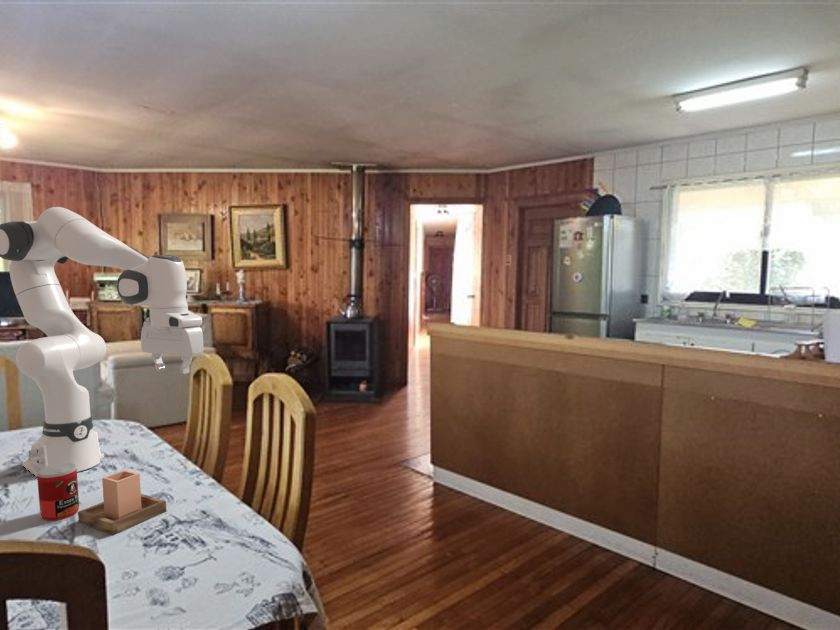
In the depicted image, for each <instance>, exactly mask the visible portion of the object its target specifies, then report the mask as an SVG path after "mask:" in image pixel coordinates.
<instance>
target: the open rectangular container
mask: <svg viewBox="0 0 840 630" xmlns="http://www.w3.org/2000/svg"><path fill="white" fill-rule="evenodd" d="M140 476H141V475H140V473H138V472H134V471H131V470H127V469H124V470H121V471H119V472H115V473H112V474H109V475H107V476H103V477H102V478H101V479H102V481H101V482H102V494H103V495H102V497H103V502H104V514H105V516H107V517H110V518H113V519H116V520H118V519H121V518H123V517H125V516H128V515H130V514H132V513H135V512H137V511H139V510H142V507H141V494H142V493H141V491H142V490H141V477H140Z"/></svg>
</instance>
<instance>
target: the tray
mask: <svg viewBox="0 0 840 630" xmlns="http://www.w3.org/2000/svg"><path fill="white" fill-rule="evenodd" d="M141 507H142V510H139V511H137V512H135V513H132V514H130V515H128V516H125V517H123V518H121V519H118V520H116V519H113V518H110V517H107V516H105V514H104V501H103V502H99V503H97V504H94V505H92V506H90V507H87V508H84V509H82V510H78V512H77V515H78V523H79V524H82V525H85V526H87V527H90V528H93V529H95V530H99V531H101V532H104V533H107V534H109V535H112V536H115V535H117V534H119V533H121V532H124V531H126V530H128V529H130V528H132V527H134V526H137V525H139V524H141V523H144V522H146V521H148V520H151V519H152V518H155V517H157V516H159V515H161V514H164V513H165V512H167V500H163V499H160V498H157V497H154V496H152V495H151V496H150V495H147V494H145V493H141Z"/></svg>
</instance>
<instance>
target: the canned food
mask: <svg viewBox="0 0 840 630" xmlns="http://www.w3.org/2000/svg"><path fill="white" fill-rule="evenodd" d="M36 479H37V491H38V502H39V503H38V504H39V514H40V517H41V519H42V520H44V521H49V522H50V521H52V522H53V521H60V520H64V519H67V518H70V517H72V516H74V515H76V514H78V512H79V508H80V501H79V499H80V498H79V484H78V483H79V482H78V472H77V468H76V465H75V464H71V463H62V464H55V465H51V466H47V467H44V468H42V469H40V470H39V471H38V472H37V477H36Z"/></svg>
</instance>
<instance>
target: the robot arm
mask: <svg viewBox="0 0 840 630" xmlns="http://www.w3.org/2000/svg"><path fill="white" fill-rule="evenodd" d="M0 258H1V259H4V260H7V261H11V262H9V265H8V270H9V277H10V282H11V286H12V288H13V292H14V294H15V296H16V300H17V303H18V305H19V307H20V310H21V311H22V314H23V318H24V319H25V321H26V322H27V324H29V325H30V326H32V327H35V328H37V329H39V330H40V331H41V332H43V334H45V335H46V336H45V337H39V338H36V339H34V340H33V339H32V340H30V341H28V342H25V343H23V344H21V345H20V346H19V348H18V349H17V351H16V353H15V363H16V366H17V369H18V370H19V371H20V373H22V374H23V375H25V376H26V377H29V378H30V379H32V381H33V382H34V383H35V384H36V386H37V387H38V388H39V390H40V394H41V395H42V400H43V407H44V408H43V409H44V417H45V421H43V422H41V424H42V425H41V426H42V432H41V433H42V435H41V436H39V438H38V439H37V440H36V441H34V443H33V444H32V445H31V448H30V450H28V457H29V458H30V459H27V460H25V461H23V462H22V463H21V466H22V467H23V466H24V467H25V468H26V469H25V468H24V467H23V468H24V469H25V470H27V471H28V470H29V471H30V472H31V473H30V472H29V471H28V472H29V473H30V474H31V475H33V474H34V475H35V477H36V478H37V472H38V471H39V470H40V469H42V468H44V467H47V466H51V465H55V464H62V463H71V464H75V465H76V468H77V473H78V472H81V471H82V472H83V471H85V470H89V469H91V468H93V467H95V466H97V465H98V464H99V463H100V462H101V460H102V459H103V458H104V457H105V453H104V452H101V449H100V443H99V436H98V432H97V431H96V430H94V420H93V415H91V403H90V401H91V400H90V393H89V390H88V389H87V388H86V387H85V386H83V385H80V384H79V383H78V382H77V380H76V379H75V376H74V371H77V370H78V371H79V370H82V369H87V368H90V367H93V366H94V365H96V364H98V363H100V362H102V361H103V359H104V358H105V357H106V355H107V344H106V342H105V340H104V338H103V337H102V336H101V335H100V334H97V333H96V332H93V331H92V330H91V329H89V328H88V327H86V326H85V325H84V324H83V322H81V321H80V319H79V318H78V317H77V315H76V314H74V312H73V310H72V309H71V306H70V305H69V304H70V303H69V302H68V300H67V298H66V296H65V293H64V291H63V287H62V286H61V283H60V281H59V279H58V277H57V275H56V272H55V265H56V264H57V263H58V264H61V265H63V264H64V265H65V264H66V263H67V262H68V260H71V261H73V262H75V263H79V264H82V265H85V266H96V267H98V266H99V267H108V268H115V269H121V270H123V271H122V272H121V273H120V274H119V276H118V278H117V281H116V292H117V294H118V295H117V296H119V298H120V299H121V300H122V302H123V303H125V304H126V305H129V306H130V305H131V306H149V314H150V316H149V317H146V319H145V320H144V322H143V324H142V325H143V326H142V328H141V333H140V349H141V350H142V352H143V353H146V354H147V353H148V354H151V358H152V360H153V362H154V364H155V365H154V366H155V370H156V371H165V370H166V363H165V362H163V359H162V357H163V355H166V356H167V355H168V356H177V357H181V361H182V363H181V365H180V366H178V367H179V373H180V374H183V375H185V374H189V373H190V366H191V364H192V361H193V358H194V357H200V356H201V355H203V353H204V334H203V329H202V328H201V327H200V326H203V318H202V317H201V316H199V315H198V314H195V313H193V312H192V311H191V310H189V306H188V305H189V304H188V301H187V297H186V296H187V291H188V285H187V283H188V281H187V272H186V267H185V264H184V261H183V260H182V259H181V258H179V257H177V256H174V255H166V254H153V255H151V256H147V255H146V254H144V253H142V252H140V251H139V250H137V249H135V248H133V247H132V246H130V245H128V244H126V243H124V242H123V241H121V240H119V239H117V238H116V237H114V236H113V235H110V234H109V233H107V232H106V231H104V230H102V229H101V228H99V227H98V226H96V225H95V224H94V223H92V222H91V221H90V220H88V219H87V218H85V217H84V216H82V215H80V214H78V213H77V212H74V211H72V210H71V209H68V208H66V207H61V206H52V207H49V208H47V209H45V210H43V212H41V213H40V215H39V216H38V219H37V220H30V221H29V220H26V221H23V220H22V221H21V220H19V221H18V220H17V221H15V220H14V221H8V222H3V223H1V224H0ZM34 475H33V476H34Z"/></svg>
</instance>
